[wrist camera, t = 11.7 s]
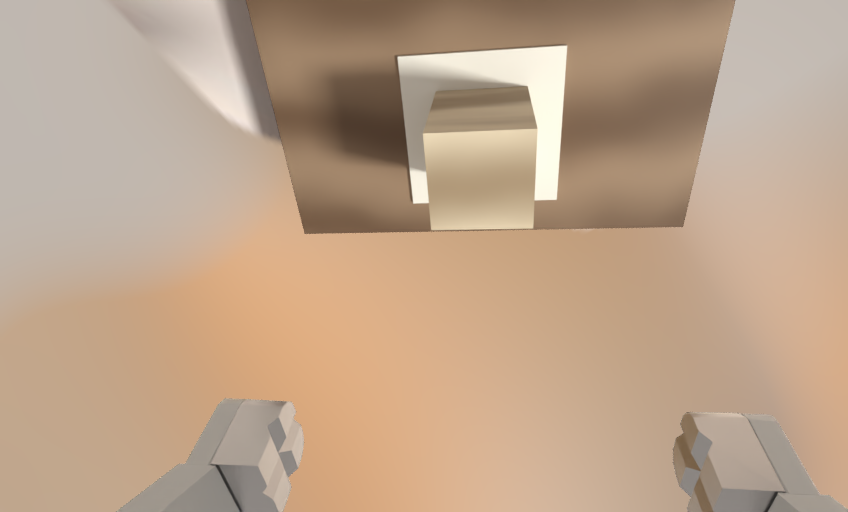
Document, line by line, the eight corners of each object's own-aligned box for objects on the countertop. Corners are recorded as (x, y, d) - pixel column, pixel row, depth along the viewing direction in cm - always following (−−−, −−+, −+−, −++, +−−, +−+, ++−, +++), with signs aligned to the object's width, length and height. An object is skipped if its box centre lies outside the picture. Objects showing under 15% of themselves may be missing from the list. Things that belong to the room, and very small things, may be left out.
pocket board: (209, -250, 21) (175, -270, 19) (783, -341, 18) (825, -378, 16) (316, 214, 33) (303, 235, 31) (669, 205, 30) (684, 228, 28)
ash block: (435, 90, 25) (422, 133, 20) (527, 86, 24) (537, 128, 19) (441, 174, 27) (431, 230, 22) (525, 171, 27) (533, 228, 22)
